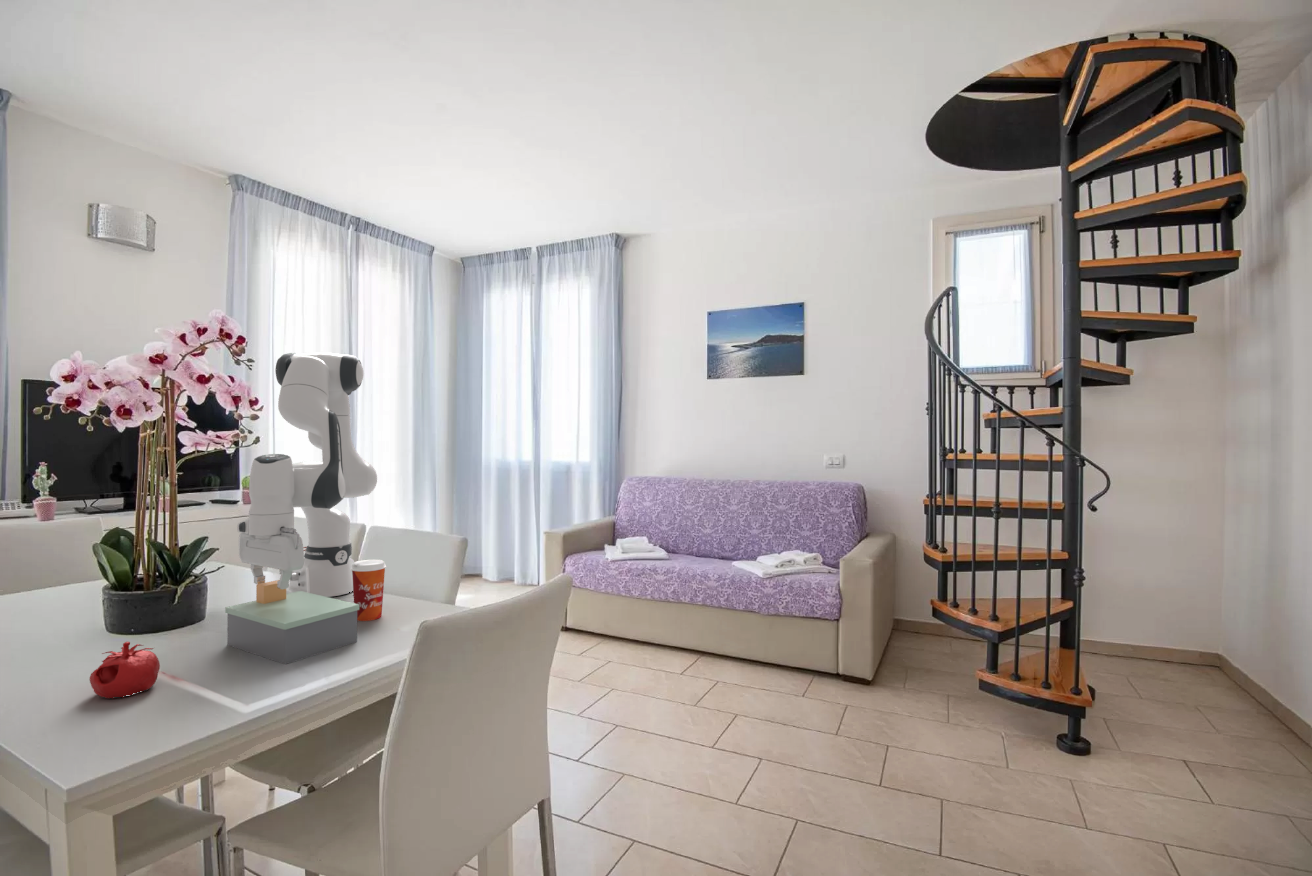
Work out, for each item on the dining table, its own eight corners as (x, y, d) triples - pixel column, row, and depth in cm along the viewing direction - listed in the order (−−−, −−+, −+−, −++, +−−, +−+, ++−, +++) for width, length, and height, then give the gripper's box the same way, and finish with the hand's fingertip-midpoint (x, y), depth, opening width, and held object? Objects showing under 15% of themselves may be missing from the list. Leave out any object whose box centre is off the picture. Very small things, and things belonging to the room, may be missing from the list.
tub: (227, 649, 137) (227, 613, 137) (299, 629, 151) (299, 596, 151) (285, 669, 126) (285, 629, 126) (357, 645, 140) (357, 610, 140)
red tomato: (152, 676, 122) (153, 629, 122) (166, 690, 115) (167, 640, 115) (84, 692, 114) (84, 642, 114) (95, 708, 108) (95, 655, 108)
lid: (225, 612, 137) (225, 589, 137) (300, 595, 151) (300, 574, 151) (284, 629, 126) (284, 604, 126) (359, 609, 140) (359, 586, 140)
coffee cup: (360, 628, 152) (361, 567, 152) (344, 621, 157) (344, 562, 157) (392, 620, 159) (393, 561, 159) (376, 614, 164) (376, 557, 164)
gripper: (312, 527, 140) (311, 588, 140) (261, 521, 150) (260, 578, 150) (283, 530, 134) (283, 594, 134) (233, 523, 144) (232, 583, 144)
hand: (271, 586), depth 142 cm, fingers open, 8 cm apart
